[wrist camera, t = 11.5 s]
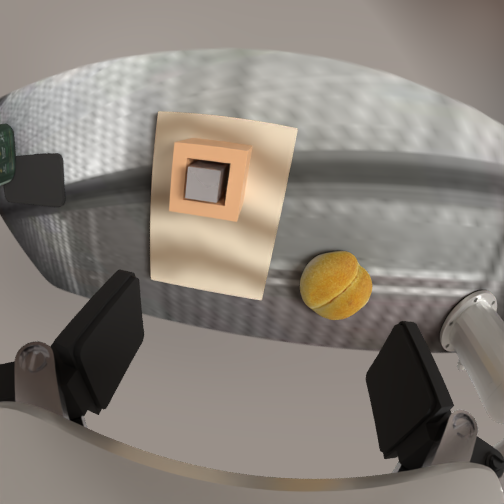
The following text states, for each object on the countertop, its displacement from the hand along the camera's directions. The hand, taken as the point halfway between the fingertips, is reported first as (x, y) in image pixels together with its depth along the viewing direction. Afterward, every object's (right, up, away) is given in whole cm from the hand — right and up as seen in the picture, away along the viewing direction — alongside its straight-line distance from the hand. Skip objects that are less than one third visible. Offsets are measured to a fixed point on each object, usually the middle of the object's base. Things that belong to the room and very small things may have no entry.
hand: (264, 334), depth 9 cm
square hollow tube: (-4, +11, +18) cm, 21 cm away
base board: (-4, +7, +20) cm, 22 cm away
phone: (-32, +13, +20) cm, 40 cm away
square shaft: (-4, +11, +18) cm, 21 cm away
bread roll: (+10, -1, +24) cm, 26 cm away
